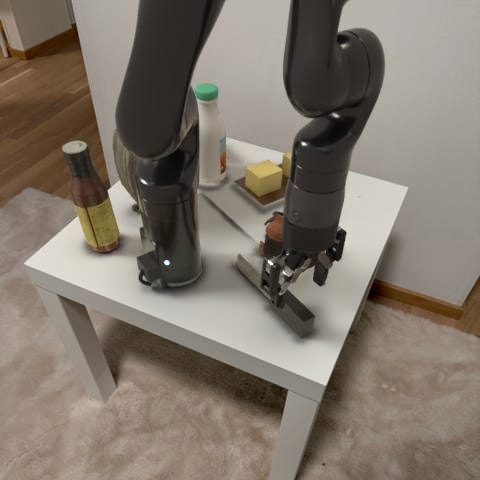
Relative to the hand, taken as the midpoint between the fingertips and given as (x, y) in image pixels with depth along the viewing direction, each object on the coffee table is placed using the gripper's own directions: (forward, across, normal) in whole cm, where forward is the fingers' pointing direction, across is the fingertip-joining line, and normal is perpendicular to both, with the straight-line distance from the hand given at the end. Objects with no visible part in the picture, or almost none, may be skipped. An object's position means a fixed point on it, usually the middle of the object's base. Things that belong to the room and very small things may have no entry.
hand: (298, 294), depth 70 cm
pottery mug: (+6, -10, -14) cm, 18 cm away
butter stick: (+4, -18, -32) cm, 37 cm away
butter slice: (+4, -26, -31) cm, 41 cm away
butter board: (+6, -22, -32) cm, 39 cm away
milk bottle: (+6, -11, -43) cm, 45 cm away
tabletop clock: (+5, +3, -38) cm, 39 cm away
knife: (+6, +1, -6) cm, 8 cm away
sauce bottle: (+5, +18, -36) cm, 40 cm away
